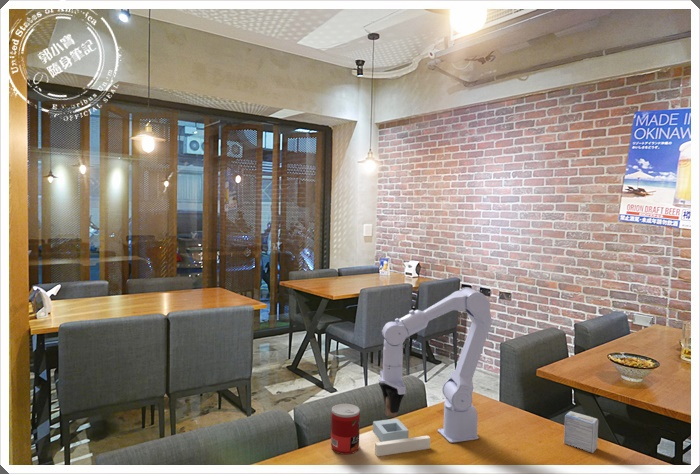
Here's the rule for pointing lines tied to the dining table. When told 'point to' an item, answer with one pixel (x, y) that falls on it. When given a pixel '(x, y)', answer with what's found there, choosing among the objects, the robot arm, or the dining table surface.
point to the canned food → (345, 428)
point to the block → (390, 430)
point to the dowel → (388, 412)
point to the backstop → (402, 445)
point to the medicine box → (581, 431)
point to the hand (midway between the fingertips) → (391, 409)
